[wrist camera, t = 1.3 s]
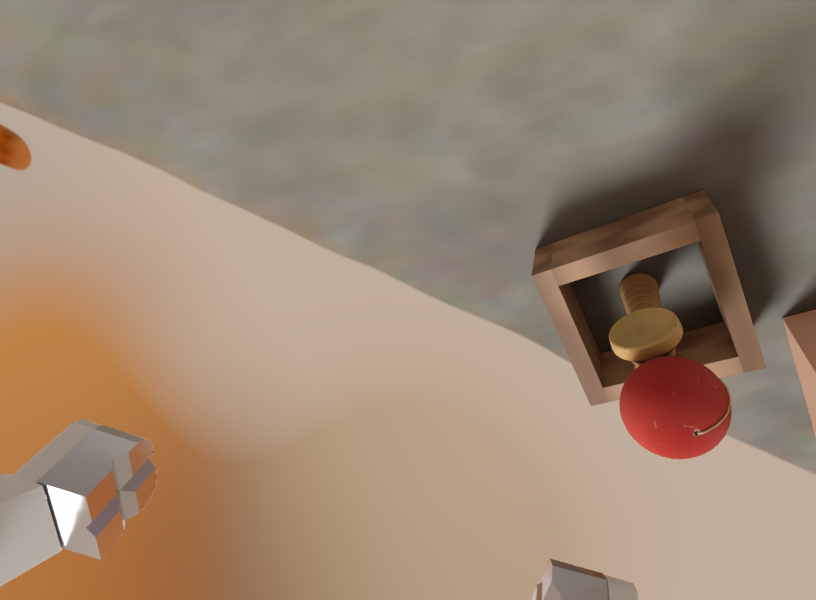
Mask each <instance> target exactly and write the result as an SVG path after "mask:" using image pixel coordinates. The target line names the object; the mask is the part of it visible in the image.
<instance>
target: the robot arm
mask: <svg viewBox="0 0 816 600" xmlns="http://www.w3.org/2000/svg"><path fill="white" fill-rule="evenodd" d="M152 453H153V447H152V443H151V441H150V440H147V439H144V438H141V437H138V436H135V435H132V434H129V433H125V432H122V431H119V430H116V429H113V428H110V427H107V426H104V425H101V424H98V423H94V422H91V421H88V420H84V419H81V420H78V421H76V422H73V423H72V424H71V425H70V426H68V427H67V428H66V429H65V430H64V431H63V432H61V433H60V434H59V435H58V436H57V437H56V438H55V439H53V440H52V441H51V442H50V443H49V444H48V445H46V446H45V447H44V448H43V449H42V450H41V451H40V452H38V453H37V454H36V455H35V456H34V457H33V458H32V459H30V460H29V461H28V462H27V463H26V464H25V465H24V466H22V467H21V468H20V469H19V470H18V471H17V472H16V473H14V474H13V475H9V474H3V475H0V586H2V585H3V584H5V583H7V582H9V581H10V580H12V579H14V578H16V577H17V576H19V575H20V574H22V573H24V572H26V571H28V570H29V569H31V568H33V567H34V566H36V565H38V564H40V563H41V562H43V561H45V560H46V559H48V558H50V557H52V556H53V555H55V554H57V553H59V552H60V551H61V550H62V549H61V548H64V549H67V550H71V551H74V552H77V553H81V554H84V555H87V556H90V557H94V558H97V559H102V558H103V557H104V555H105V554H106V553H107V552H108V551H109V550H110V548H111V547H112V546H113V545H114V543H115V542H116V541H117V540H118V539H119V537H120V536H121V535H122V534H123V532H124V528H125V527H124V525H125V520H126V519H128V518H130V517H132V516H134V515H136V514H138V513H140V511H141V510H142V509H143V508H144V506H145V505H146V504H147V503H148V501H149V499H150V497H151V495H152V493H153V490H154V488H155V485H156V479H157V474H156V468H155V466H154V465H153V464H152V463H151V461H150V460H149V459H148V458H149V457H150V456H151V455H152ZM532 600H638V597H637V590H636V588H635V586H634V584H633V583H631V582H627V581H624V580H620V579H617V578H613V577H610V576H606V575H603V574H602V573H599V572H595V571H592V570H588V569H584V568H581V567H577V566H574V565H571V564H567V563H564V562H560V561H556V560H553V559H549V560H548V561H547V563H546V565H545V567H544V570H543V582H542V583H540V584H538V585H537V586H536V589H535V591H534V594H533V597H532Z"/></svg>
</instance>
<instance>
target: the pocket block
mask: <svg viewBox="0 0 816 600" xmlns="http://www.w3.org/2000/svg"><path fill="white" fill-rule="evenodd" d="M695 242H697V243H698V246H699V249H700V252H701V255H702V258H703V261H704V264H705V267H706V270H707V273H708V276H709V279H710V283H711V286H712V289H713V292H714V295H715V298H716V301H717V304H718V307H719V310H720V313H721V316H722V319H723V322H721V323H717V324H713V325H709V326H705V327H701V328H697V329H694V330H690V331H686V332H683V335H682V338H681V340H680V342H679V343H678V345H677V346H676V348H675V351H676V352H678V353H680V354H681V355H683V356H684V357H686V358H689V359H692V360H694V361H697V362H699V363H701V364H703V365H704V366H706V367H707V368H709V369H710V370H711V371H712V372H713V373H714V374H715V375H716V376H717V377H718V378H721V377H726V376H730V375H735V374H739V373H744V372H749V371H753V370H758V369H762V368H766V365H765V362H764V359H763V356H762V352H761V349H760V346H759V343H758V339H757V336H756V333H755V329H754V326H753V323H752V320H751V316H750V313H749V310H748V307H747V303H746V300H745V297H744V293H743V290H742V287H741V284H740V280H739V277H738V274H737V271H736V267H735V264H734V261H733V257H732V254H731V251H730V248H729V244H728V241H727V238H726V235H725V231H724V228H723V225H722V221H721V218H720V215H719V213H718V211H717V209H716V208H715V206H714V204H713V203H712V201H711V199H710V198H709V196H708V195H707V193H706V191H705V190H701V191H698V192H695V193H692V194H689V195H687V196H684V197H681V198H678V199H675V200H673V201H670V202H667V203H664V204H661V205H658V206H656V207H653V208H650V209H647V210H644V211H641V212H639V213H636V214H633V215H630V216H627V217H625V218H622V219H619V220H616V221H613V222H610V223H608V224H605V225H602V226H599V227H596V228H593V229H591V230H588V231H585V232H582V233H579V234H577V235H574V236H571V237H568V238H565V239H562V240H560V241H557V242H554V243H551V244H548V245H545V246H543V247H540V248H537V249H536V250H535V257H534V264H533V271H532V277H533V280H534V282H535V284H536V286H537V288H538V290H539V293H540V295H541V297H542V299H543V301H544V304H545V306H546V308H547V310H548V312H549V315H550V317H551V319H552V321H553V323H554V326H555V328H556V330H557V332H558V334H559V337H560V339H561V341H562V343H563V345H564V348H565V350H566V352H567V354H568V356H569V359H570V361H571V363H572V365H573V367H574V370H575V371H576V374H577V376H578V378H579V380H580V383H581V385H582V387H583V389H584V391H585V394H586V396H587V398H588V400H589V402H590V405H591V406H593V405H597V404H602V403H606V402H611V401H616V400H620V394H621V390H622V387H623V385H624V383H625V381H626V379H627V378H628V376H629V375H630V374H631V373H632V371H633V370H634V369H635V364H634V363H633V362H631V361H627V360H624V359H621V358H620V357H619V356H617V355H616V354H615V353H614V351H613V350H612V351H608V352H604V353H600V351H599V349H598V346H597V344H596V342H595V339H594V337H593V335H592V332H591V330H590V328H589V325H588V323H587V321H586V318H585V316H584V314H583V311H582V309H581V307H580V304H579V302H578V300H577V297H576V295H575V293H574V290H573V288H572V286H571V283H570V282H573V281H576V280H579V279H582V278H585V277H589V276H592V275H595V274H598V273H601V272H604V271H607V270H611V269H614V268H617V267H620V266H623V265H626V264H629V263H633V262H636V261H639V260H642V259H645V258H648V257H651V256H655V255H658V254H661V253H664V252H667V251H670V250H673V249H677V248H680V247H683V246H686V245H689V244H692V243H695ZM678 356H679V355H678Z"/></svg>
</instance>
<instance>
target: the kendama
mask: <svg viewBox="0 0 816 600" xmlns="http://www.w3.org/2000/svg"><path fill="white" fill-rule="evenodd" d="M619 292H620V296H621V298H622V301H623V303H624V306H625V309H626V312H627V315H625V316H624V317H622V318H621V319H620V320H618V321H617V322H616V323H615V324H614V325H613V326H612V328H611V330H610V332H609V341H610V344H611V347H612V350H613V351H614V353H615V354H616V355H617V356H619V357H620V358H621V359H624V360H627V361H631V362H633V363H634V364H635V369H634V370H633V371H632V373H631V374H630V375H629V376H628V378H627V379H626V381H625V383H624V385H623V387H622V390H621V394H620V413H621V417H622V420H623V422H624V425H625V427H626V429H627V430H628V432H629V433H630V435H631V436H632V437H633V438H634V439H635V440H636V441H637V442H638V443H639V444H640V445H641V446H643V447H644V448H645V449H647V450H649V451H651V452H653V453H654V454H657V455H660V456H662V457H666V458H672V459H688V458H693V457H696V456H700V455H702V454H705V453H706V452H708V451H710V450H711V449H713V448H714V447H715V446H716V445H718V444H719V442H720V441H721V440H722V439H723V438H724V436H725V435H726V433H727V430H728V428H729V425H730V421H731V397H730V393H729V390H728V388H727V387H726V385H725V384H724V383H723V381H722V380H721V379H719V378H718V377H717V376H716V375H715V374H714V373H713V372H712V371H711V370H710V369H709V368H707V367H706V366H704V365H703V364H701V363H699V362H697V361H694V360H692V359H689V358H686V357H684V356H683V355H681V354H680V353H678V352H676V351H675V348H676V346H677V345H678V343H679V342H680V340H681V338H682V335H683V328H682V325H681V323H680V321H679V319H678V317H677V316H676V315H675V313H674V312H672V311H670V310H668V309H665V308H661V304H660V297H659V288H658V283H657V281H656V280H655V279H654V278H653V277H652V276H651V275H648V274H645V273H634V274H631V275H629V276H627V277H626V278H625V279H624V280H623V281H622V282H621V284H620V288H619ZM678 355H679V356H678Z"/></svg>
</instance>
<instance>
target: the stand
mask: <svg viewBox="0 0 816 600" xmlns="http://www.w3.org/2000/svg"><path fill="white" fill-rule="evenodd" d="M782 319H783V323H784V326H785V330H786V333H787V337H788V340H789V344H790V348H791V351H792V355H793V358H794V362H795V365H796V369H797V372H798V376H799V379H800V383H801V387H802V390H803V394H804V397H805V401H806V404H807V408H808V411H809V415H810V418H811V422H812V426H813V429H814V433H815V436H816V310H812V311H808V312H804V313H800V314H796V315H792V316H788V317H784V318H782Z"/></svg>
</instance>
